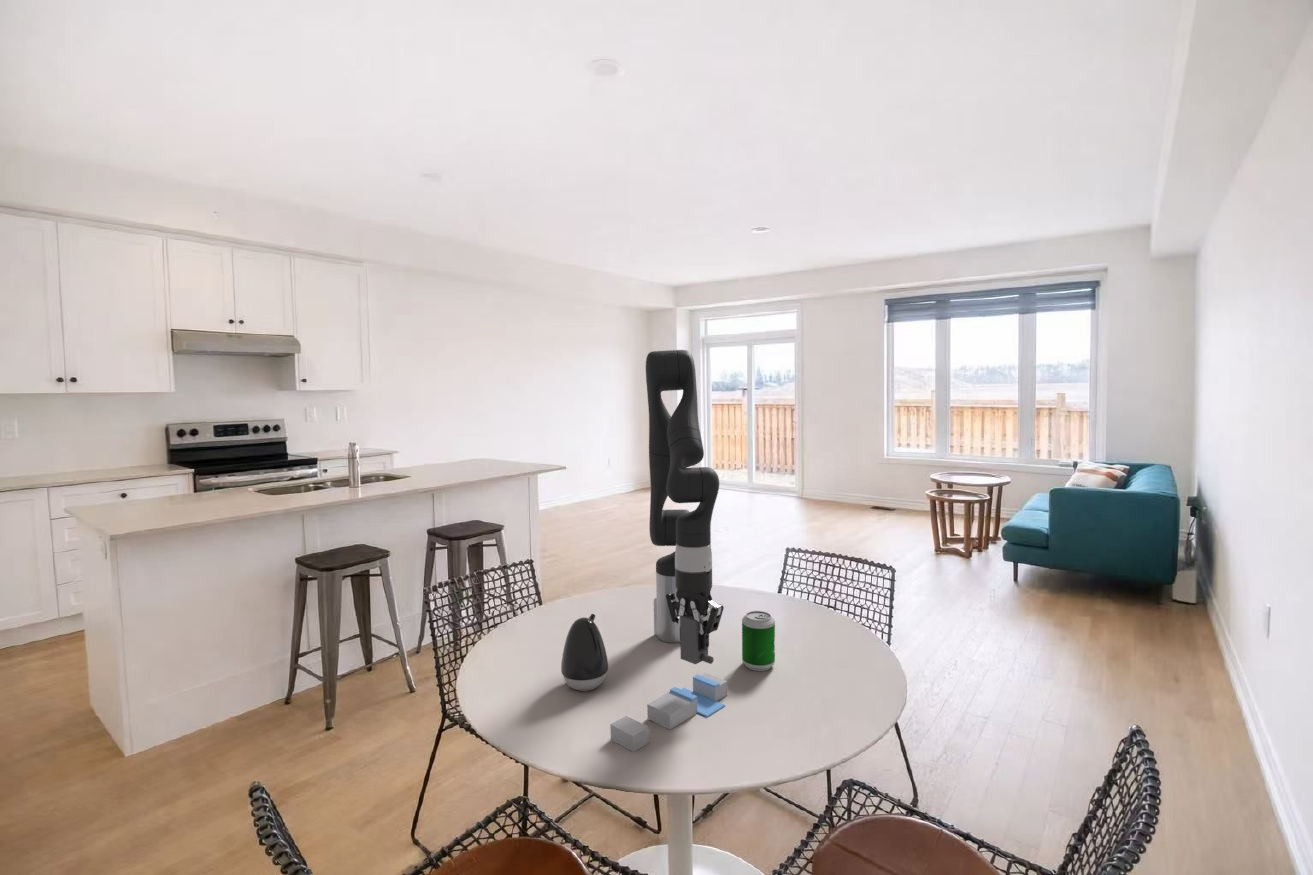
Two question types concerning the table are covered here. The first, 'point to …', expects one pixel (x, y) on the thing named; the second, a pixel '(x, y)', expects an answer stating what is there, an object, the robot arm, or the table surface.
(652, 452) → the robot arm
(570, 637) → the black egg-shaped body
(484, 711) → the table surface
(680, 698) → the blue-tipped block chain
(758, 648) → the soda can
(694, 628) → the dark grey bar
